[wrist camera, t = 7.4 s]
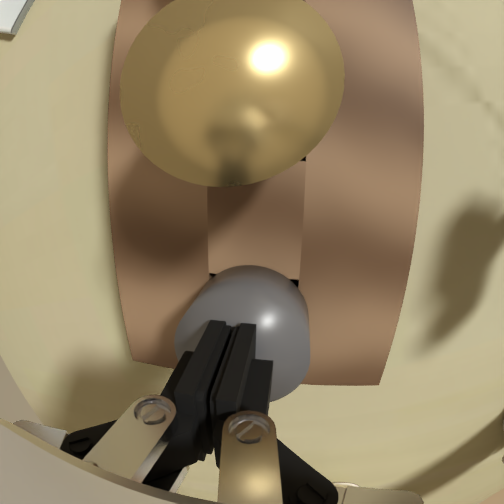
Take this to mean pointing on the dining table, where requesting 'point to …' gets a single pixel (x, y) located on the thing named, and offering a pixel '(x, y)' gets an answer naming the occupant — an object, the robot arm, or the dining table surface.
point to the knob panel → (287, 206)
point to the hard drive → (13, 14)
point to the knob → (255, 320)
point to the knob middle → (231, 88)
